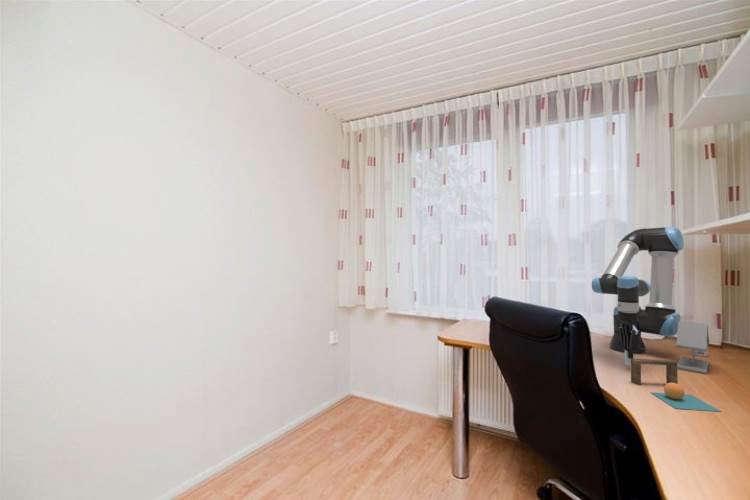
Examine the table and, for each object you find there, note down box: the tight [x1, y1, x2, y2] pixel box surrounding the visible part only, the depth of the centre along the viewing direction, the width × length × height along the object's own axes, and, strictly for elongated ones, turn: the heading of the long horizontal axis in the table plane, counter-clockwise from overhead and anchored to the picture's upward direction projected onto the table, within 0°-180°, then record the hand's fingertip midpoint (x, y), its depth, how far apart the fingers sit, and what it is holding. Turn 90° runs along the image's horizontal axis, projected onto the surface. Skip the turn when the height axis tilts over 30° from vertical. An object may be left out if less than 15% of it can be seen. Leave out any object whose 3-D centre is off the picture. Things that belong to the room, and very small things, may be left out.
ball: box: [663, 383, 686, 400], centre depth 119 cm, size 6×6×6 cm
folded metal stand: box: [675, 320, 711, 375], centre depth 152 cm, size 18×10×20 cm, turn 133°
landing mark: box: [650, 391, 722, 413], centre depth 117 cm, size 13×13×1 cm
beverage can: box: [695, 344, 709, 357], centre depth 169 cm, size 6×6×15 cm
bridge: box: [630, 358, 679, 386], centre depth 133 cm, size 3×14×9 cm, turn 80°
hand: (629, 364), depth 149 cm, fingers closed
